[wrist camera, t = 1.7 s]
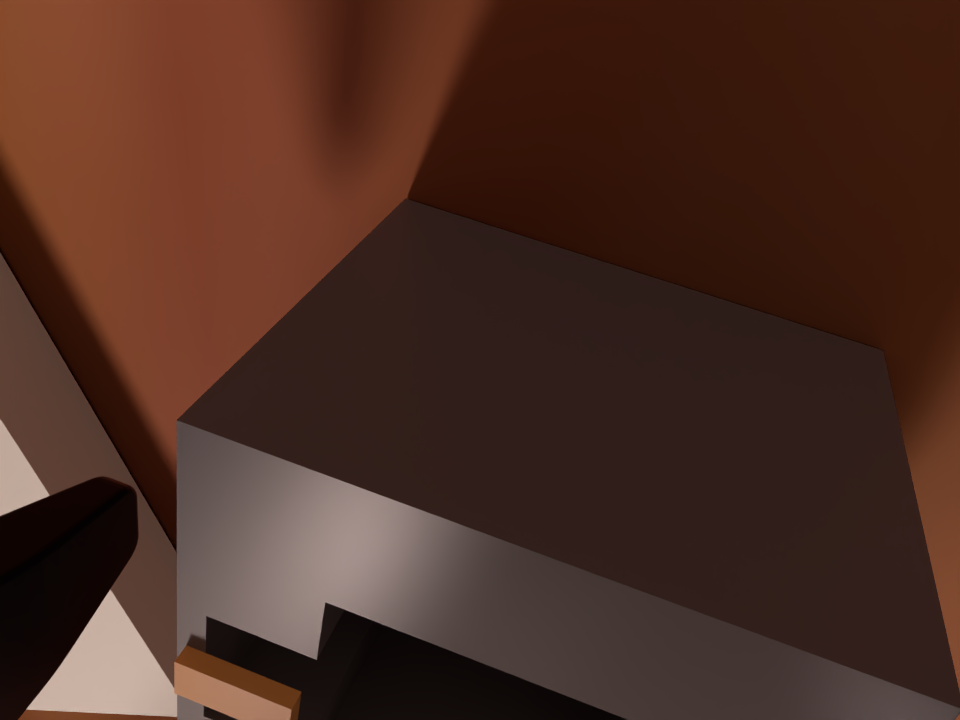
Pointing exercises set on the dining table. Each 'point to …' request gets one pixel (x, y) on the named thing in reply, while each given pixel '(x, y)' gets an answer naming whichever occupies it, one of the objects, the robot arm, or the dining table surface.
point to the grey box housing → (547, 504)
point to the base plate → (60, 465)
